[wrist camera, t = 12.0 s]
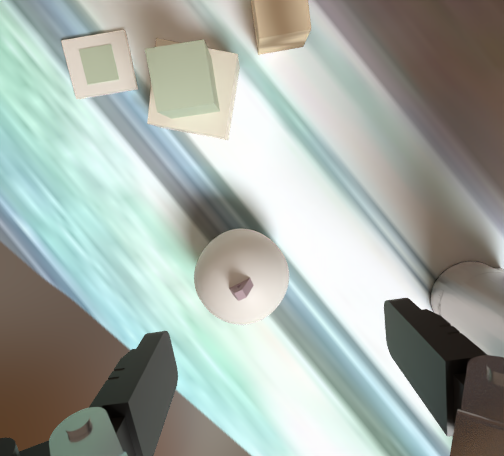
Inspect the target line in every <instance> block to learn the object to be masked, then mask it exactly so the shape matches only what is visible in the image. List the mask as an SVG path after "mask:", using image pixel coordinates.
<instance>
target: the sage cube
mask: <svg viewBox="0 0 504 456" xmlns="http://www.w3.org/2000/svg"><path fill="white" fill-rule="evenodd" d="M145 53H146V58H147V63H148V69H149V74H150V79H151V84H152V89H153V94H154V99H155V104H156V109H157V112H158V113H160V114H162V115H165V116H167V117H169V118H171V119H174V118H180V117H187V116H193V115H200V114H206V113H213V112H219V111H220V108H219V102H218V96H217V89H216V83H215V76H214V70H213V64H212V58H211V55H210V53H209V50H208V48H207V45H206V43H205V40H204V39H203V40H197V41H191V42H184V43H178V44H172V45H166V46H159V47H153V48H147V49H145Z"/></svg>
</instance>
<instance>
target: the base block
mask: <svg viewBox="0 0 504 456" xmlns="http://www.w3.org/2000/svg"><path fill="white" fill-rule="evenodd" d="M178 43H179V42H174V41H169V40H164V39H159V38H156V44H155V47H159V46H166V45H172V44H178ZM208 50H209V53H210V55H211V58H212V64H213V70H214V76H215V83H216V89H217V96H218V102H219V108H220V111H219V112H213V113H206V114H200V115H193V116H187V117H180V118H174V119H171V118H169V117H167V116H165V115H162V114H160V113H158V112H157V109H156V104H155V99H154V94H153V89H152V84H151V93H150V103H149V113H148V123H147V124H151V125H154V126H157V127H160V128H165V129H170V130H176V131H181V132H187V133H192V134H197V135H203V136H208V137H214V138H219V139H224V140H228V139H229V132H230V126H231V120H232V113H233V107H234V101H235V94H236V88H237V81H238V75H239V69H240V66H239V59H238V54H235V53H230V52H225V51H220V50H215V49H210V48H208Z"/></svg>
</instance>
